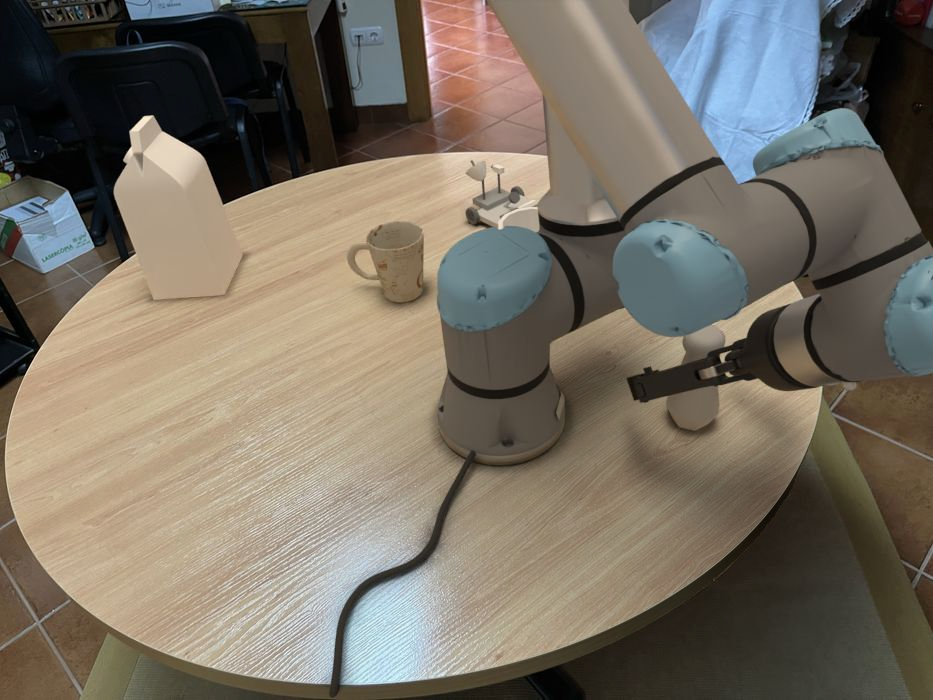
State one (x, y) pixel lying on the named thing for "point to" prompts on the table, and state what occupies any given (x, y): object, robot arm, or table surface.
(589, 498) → the table surface
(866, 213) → the robot arm
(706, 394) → the salt shaker
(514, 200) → the grey wheeled model
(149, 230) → the milk
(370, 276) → the mug
